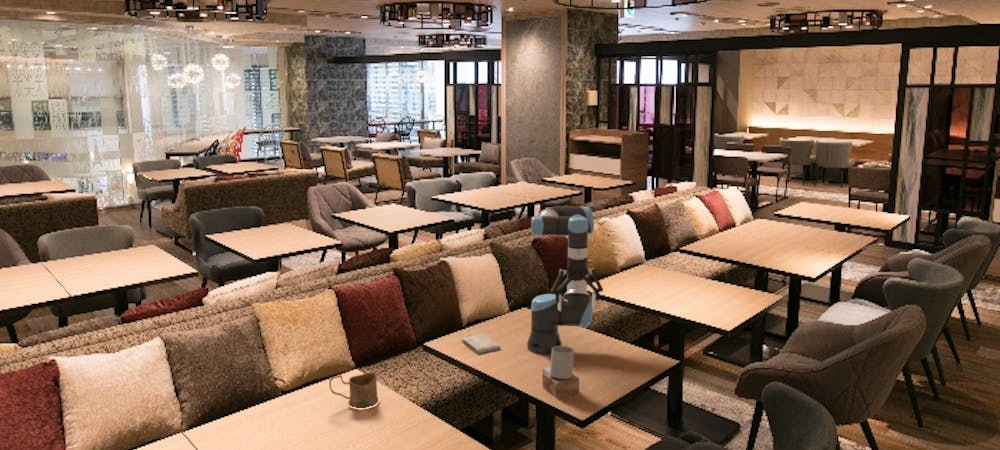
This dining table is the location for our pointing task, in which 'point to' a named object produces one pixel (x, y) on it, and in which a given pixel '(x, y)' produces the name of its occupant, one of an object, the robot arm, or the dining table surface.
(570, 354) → the cup
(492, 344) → the washcloth
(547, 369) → the grey block
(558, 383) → the walnut block
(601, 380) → the dining table surface
